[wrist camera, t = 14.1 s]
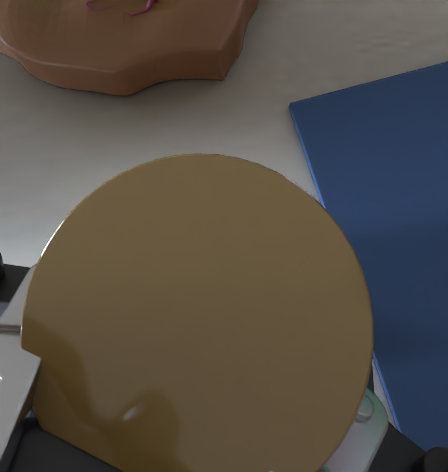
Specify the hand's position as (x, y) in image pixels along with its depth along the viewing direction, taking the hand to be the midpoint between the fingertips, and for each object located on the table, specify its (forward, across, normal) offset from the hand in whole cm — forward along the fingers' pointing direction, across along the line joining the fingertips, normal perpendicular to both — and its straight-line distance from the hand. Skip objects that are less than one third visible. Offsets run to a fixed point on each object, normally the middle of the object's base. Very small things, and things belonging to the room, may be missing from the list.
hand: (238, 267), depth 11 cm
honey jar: (+2, 0, +4) cm, 5 cm away
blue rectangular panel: (+7, -9, 0) cm, 12 cm away
